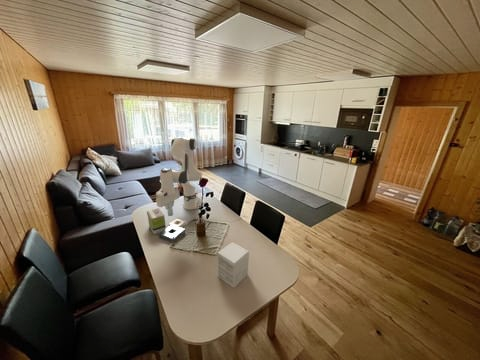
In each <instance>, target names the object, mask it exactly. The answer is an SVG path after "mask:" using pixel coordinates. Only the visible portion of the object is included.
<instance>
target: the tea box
mask: <svg viewBox="0 0 480 360" xmlns="http://www.w3.org/2000/svg"><path fill="white" fill-rule="evenodd" d="M146 215H147V221H148V226H149V229H150V230H151V232H152V234H153V235H157V234H159V233H160V232H162V231H163V230H165V229H166V228H167V227H166V220H165V219H166V218H165V214H164V213H163V212H162V211H161V209H160V207H158V208H155V209H151V210H147V211H146Z"/></svg>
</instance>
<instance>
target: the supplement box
mask: <svg viewBox="0 0 480 360" xmlns="http://www.w3.org/2000/svg"><path fill="white" fill-rule="evenodd" d="M249 255H250V251H249V250H248V249H246V248H245V247H244V248H243V247H242V246H240V245H239V244H237V243H235V242H233V241H231V243H228V244H227V245H226V246H224V247H223V248H221V249H220V250H219V251H218V252H217V277H218V278H220V279H221V280H222V281H224V282H225V283H226V284H227V285H229V286H230V287H231V288H233V289H235V288H236V287H237V286H238V285H239V284H240V283H241V282H242V281H243V280H244V279H245V278H246V277H247V276H248V275H249V257H250V256H249Z"/></svg>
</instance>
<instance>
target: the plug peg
mask: <svg viewBox="0 0 480 360" xmlns="http://www.w3.org/2000/svg"><path fill="white" fill-rule="evenodd" d="M167 206H168V207H169V209H166V210H167V216H168V217H173V215H174V210H173V207H172V201H170V203H169V204H167Z"/></svg>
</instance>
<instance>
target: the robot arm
mask: <svg viewBox="0 0 480 360" xmlns="http://www.w3.org/2000/svg"><path fill="white" fill-rule="evenodd" d="M197 145H198V144H197V140H196V139H195V138H193V137H183V136H177V137H174V138H172V139H171V142H170V146H171V148H170V155H171V156H172V158H174V159H176V161H180V162H181V164H182V169H172V168H171V167H164V168H161V170H160V171H159V172H160V173H159V182H160V184H161V185H160V187H161V188H160V189H159V190H158V191H156V192H155V196H156V198H155V200H156V203H155V204H156V206H157V207H158V208H163V207H165V210H167V209H169V207H168V206H167V204H169V203H170V201H172V208H173V207H174V204H175V201H176V200H178V199H180V197H181V195H180V190H179V187H178V186H175V184H181V186H182V188H183V202H182V206H183V209H185V210H190V211H191V210H195V209H196V210H197V208H198V209H199V208H200V207H201V206H202V205H201V201H202V200H201V197H200V196H198V194H199V192H196V186H195V184H193V183H191V182H198V181H201V180H200V178H201V179H202V178H203V173H202V172H201V170H199V169H198V168H197V167H196V165H195V160H194V158H195V157H194V151H195V150H196V149H197V148H196V147H197ZM200 205H201V206H200ZM199 206H200V207H199Z"/></svg>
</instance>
